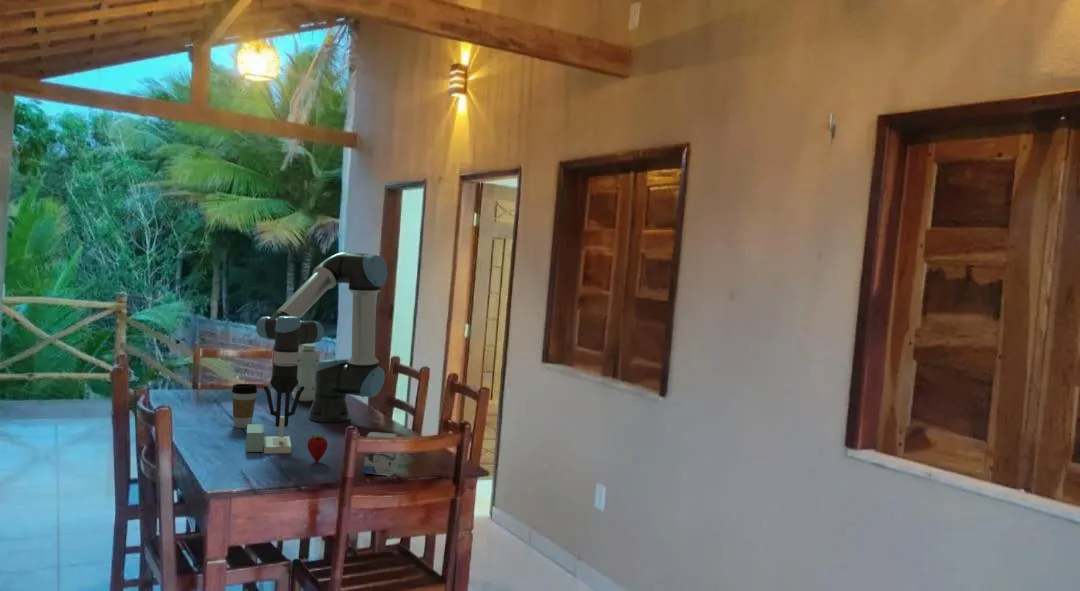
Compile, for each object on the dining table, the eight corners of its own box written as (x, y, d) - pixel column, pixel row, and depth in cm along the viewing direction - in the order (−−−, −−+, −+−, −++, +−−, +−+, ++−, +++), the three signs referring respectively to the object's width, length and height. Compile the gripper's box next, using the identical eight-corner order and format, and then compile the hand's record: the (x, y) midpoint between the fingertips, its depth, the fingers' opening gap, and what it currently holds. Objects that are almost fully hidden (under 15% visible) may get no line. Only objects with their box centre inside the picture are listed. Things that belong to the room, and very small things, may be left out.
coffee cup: (246, 430, 267) (248, 387, 266) (224, 427, 268) (227, 384, 268) (259, 425, 275) (262, 384, 274) (238, 422, 277) (241, 381, 276)
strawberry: (308, 465, 229) (310, 432, 228) (304, 459, 236) (306, 427, 235) (328, 464, 231) (330, 432, 231) (324, 458, 238) (326, 426, 238)
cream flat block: (289, 442, 254) (289, 436, 254) (290, 453, 241) (291, 446, 241) (263, 442, 252) (264, 436, 252) (264, 453, 239) (264, 446, 238)
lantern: (318, 401, 327) (322, 343, 326) (293, 401, 323) (297, 342, 322) (313, 395, 339) (317, 339, 338) (289, 395, 334) (293, 338, 333)
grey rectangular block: (262, 442, 251) (263, 423, 250) (262, 451, 239) (264, 432, 239) (246, 442, 249) (247, 423, 249) (245, 451, 238) (246, 432, 237)
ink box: (362, 475, 224) (365, 435, 223) (366, 470, 229) (368, 431, 228) (392, 477, 224) (395, 437, 224) (395, 472, 229) (397, 433, 229)
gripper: (305, 363, 252) (301, 433, 252) (263, 361, 247) (259, 434, 248) (307, 366, 245) (302, 439, 245) (264, 365, 240) (259, 439, 241)
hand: (280, 436), depth 247 cm, fingers closed
